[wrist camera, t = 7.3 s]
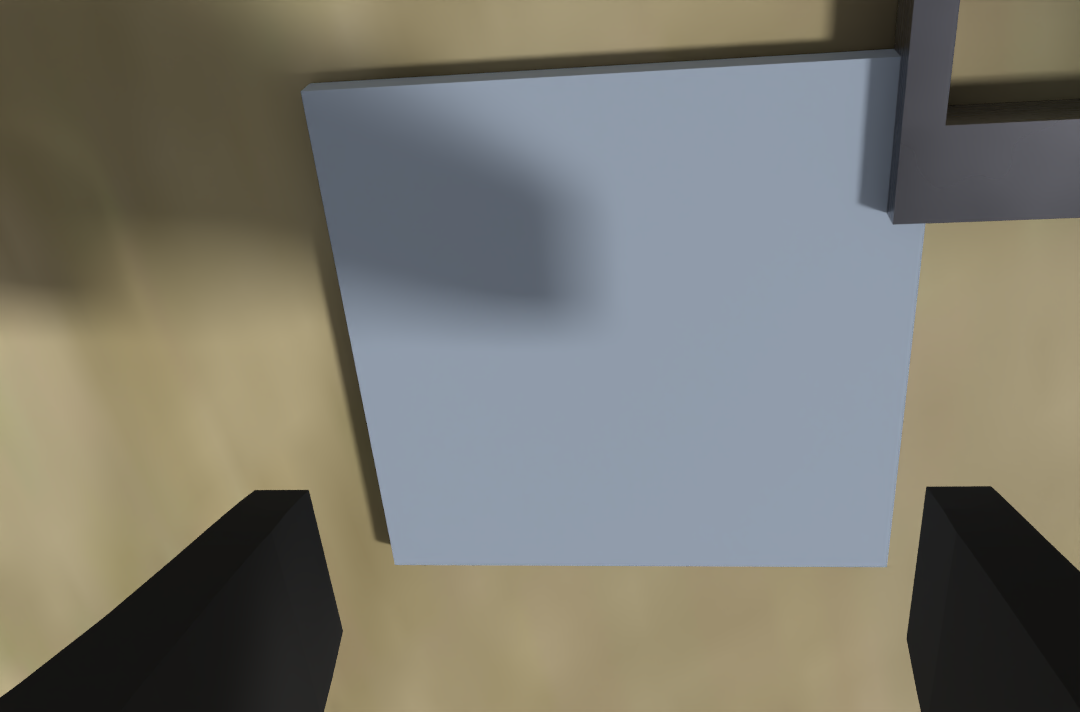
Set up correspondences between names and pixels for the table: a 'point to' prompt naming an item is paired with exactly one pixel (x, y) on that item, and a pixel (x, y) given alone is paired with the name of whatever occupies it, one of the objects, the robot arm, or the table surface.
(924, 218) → the rectangular frame
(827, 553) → the mat
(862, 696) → the table surface
